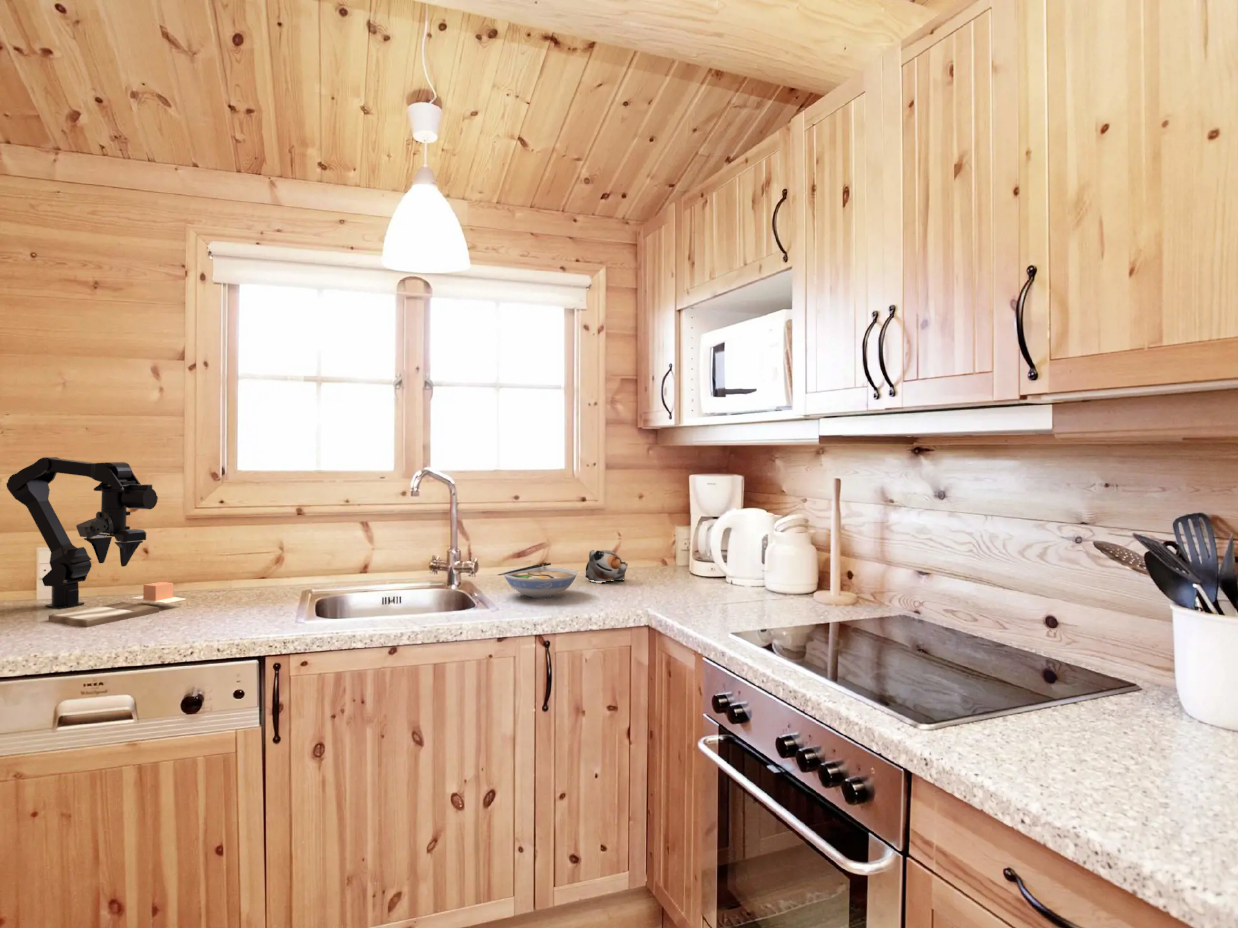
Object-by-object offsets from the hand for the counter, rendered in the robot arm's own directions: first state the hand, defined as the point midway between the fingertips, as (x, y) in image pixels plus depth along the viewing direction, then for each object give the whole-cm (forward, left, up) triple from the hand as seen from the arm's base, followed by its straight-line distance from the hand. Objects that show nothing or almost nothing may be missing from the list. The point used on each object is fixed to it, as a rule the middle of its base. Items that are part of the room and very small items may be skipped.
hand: (112, 564), depth 194 cm
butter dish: (+9, +6, -10) cm, 15 cm away
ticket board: (+9, -8, -12) cm, 17 cm away
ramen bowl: (+97, +65, -12) cm, 118 cm away
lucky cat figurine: (+106, +98, -12) cm, 145 cm away
